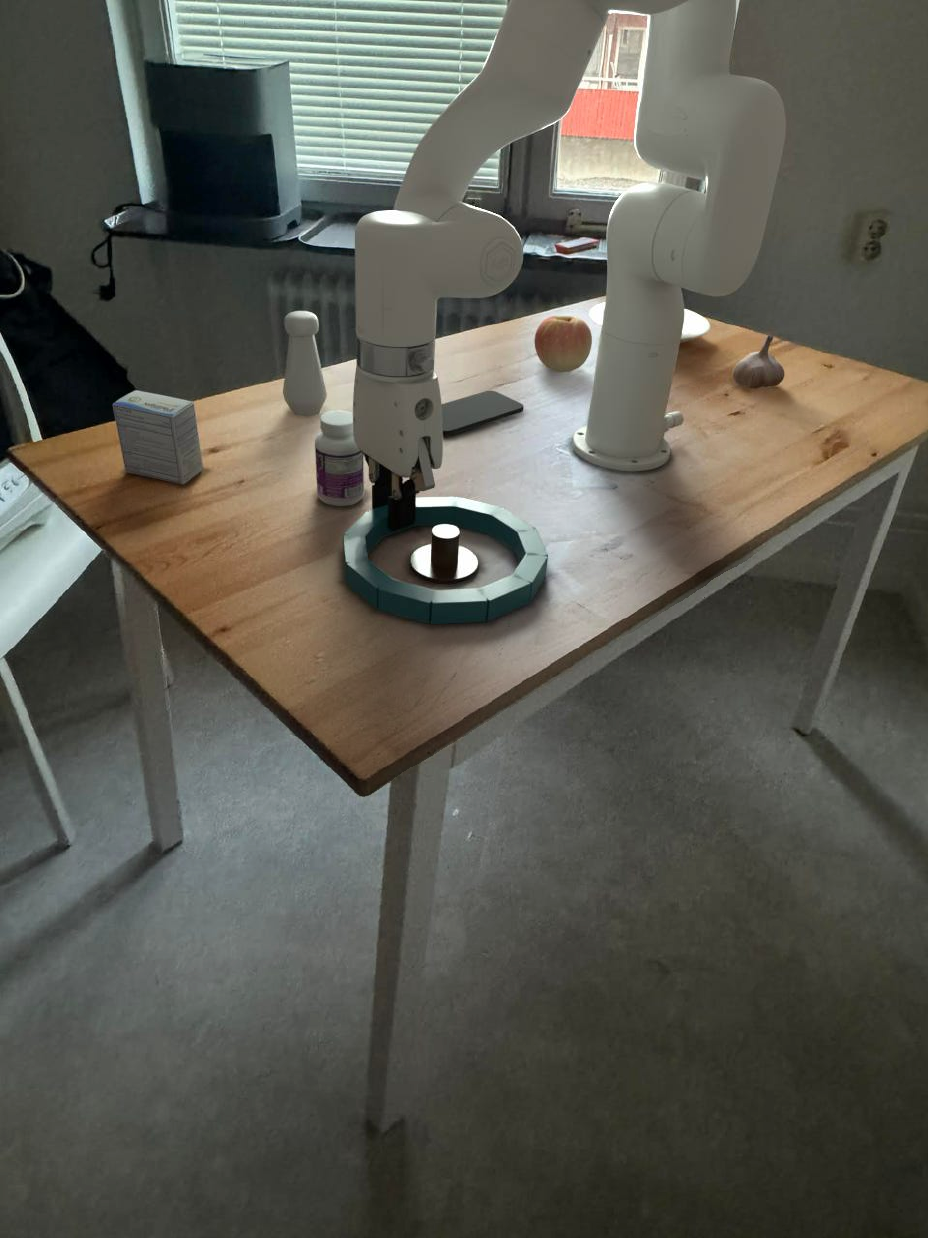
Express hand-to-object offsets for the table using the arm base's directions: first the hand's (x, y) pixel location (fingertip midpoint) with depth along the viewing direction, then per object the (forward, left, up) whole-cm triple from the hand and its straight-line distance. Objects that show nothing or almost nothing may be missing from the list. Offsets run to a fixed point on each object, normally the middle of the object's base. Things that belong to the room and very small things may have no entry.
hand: (393, 519), depth 96 cm
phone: (-26, -19, -1) cm, 32 cm away
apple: (-50, -26, -1) cm, 56 cm away
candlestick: (-72, -29, -1) cm, 78 cm away
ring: (0, +9, -1) cm, 9 cm away
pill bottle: (+1, -9, -1) cm, 9 cm away
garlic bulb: (-72, -5, -1) cm, 72 cm away
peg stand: (0, +9, -1) cm, 9 cm away
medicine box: (+15, -25, -1) cm, 29 cm away
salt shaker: (-8, -32, -1) cm, 33 cm away
